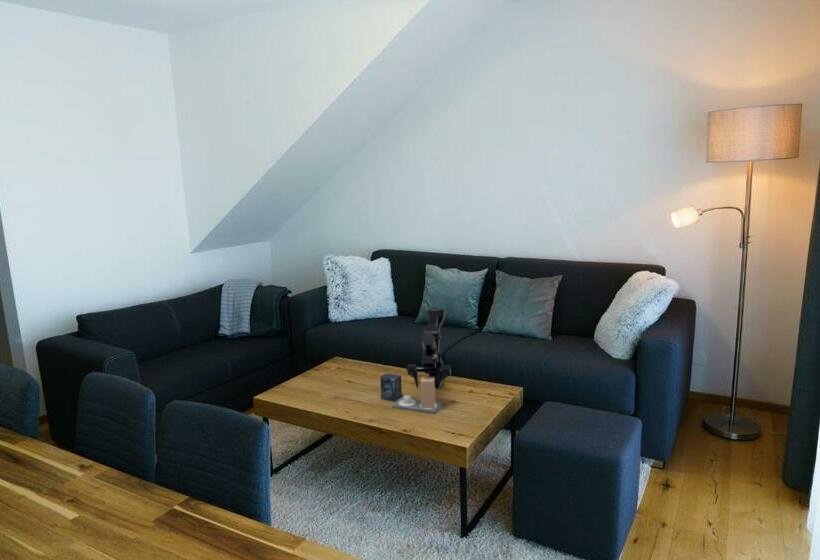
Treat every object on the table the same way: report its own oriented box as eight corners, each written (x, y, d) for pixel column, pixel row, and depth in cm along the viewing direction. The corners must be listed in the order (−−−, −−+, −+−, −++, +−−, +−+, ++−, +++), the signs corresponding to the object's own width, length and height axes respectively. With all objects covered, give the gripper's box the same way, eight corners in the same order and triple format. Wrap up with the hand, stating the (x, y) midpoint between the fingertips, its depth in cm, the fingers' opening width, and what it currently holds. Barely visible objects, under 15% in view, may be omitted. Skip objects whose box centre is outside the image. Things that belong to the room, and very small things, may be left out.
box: (381, 398, 262) (379, 376, 260) (387, 394, 267) (386, 372, 265) (395, 401, 259) (394, 379, 257) (402, 397, 263) (401, 375, 261)
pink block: (422, 402, 253) (422, 376, 251) (435, 403, 253) (434, 376, 250) (421, 407, 248) (420, 381, 246) (434, 408, 247) (433, 381, 245)
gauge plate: (401, 399, 261) (401, 390, 260) (443, 404, 253) (443, 396, 252) (392, 407, 252) (391, 399, 251) (435, 413, 244) (434, 405, 243)
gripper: (406, 347, 252) (403, 380, 243) (449, 347, 249) (448, 381, 241) (410, 358, 261) (407, 390, 253) (451, 358, 258) (450, 391, 250)
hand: (427, 388), depth 249 cm, fingers open, 9 cm apart
